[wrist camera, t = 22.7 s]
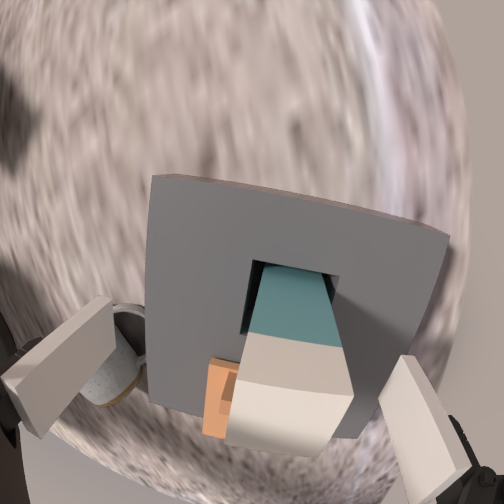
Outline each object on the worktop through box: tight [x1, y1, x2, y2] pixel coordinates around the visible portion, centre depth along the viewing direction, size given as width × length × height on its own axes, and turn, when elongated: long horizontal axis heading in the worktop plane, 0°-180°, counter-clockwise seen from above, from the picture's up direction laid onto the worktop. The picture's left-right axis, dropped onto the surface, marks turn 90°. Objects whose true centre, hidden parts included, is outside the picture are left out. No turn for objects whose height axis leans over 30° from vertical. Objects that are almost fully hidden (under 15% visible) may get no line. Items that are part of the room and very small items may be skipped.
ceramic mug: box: [79, 303, 146, 407], centre depth 22 cm, size 11×8×8 cm
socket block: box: [145, 174, 450, 439], centre depth 21 cm, size 20×20×4 cm
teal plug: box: [224, 262, 354, 457], centre depth 16 cm, size 4×4×14 cm
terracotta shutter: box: [202, 358, 240, 439], centre depth 19 cm, size 9×9×4 cm
